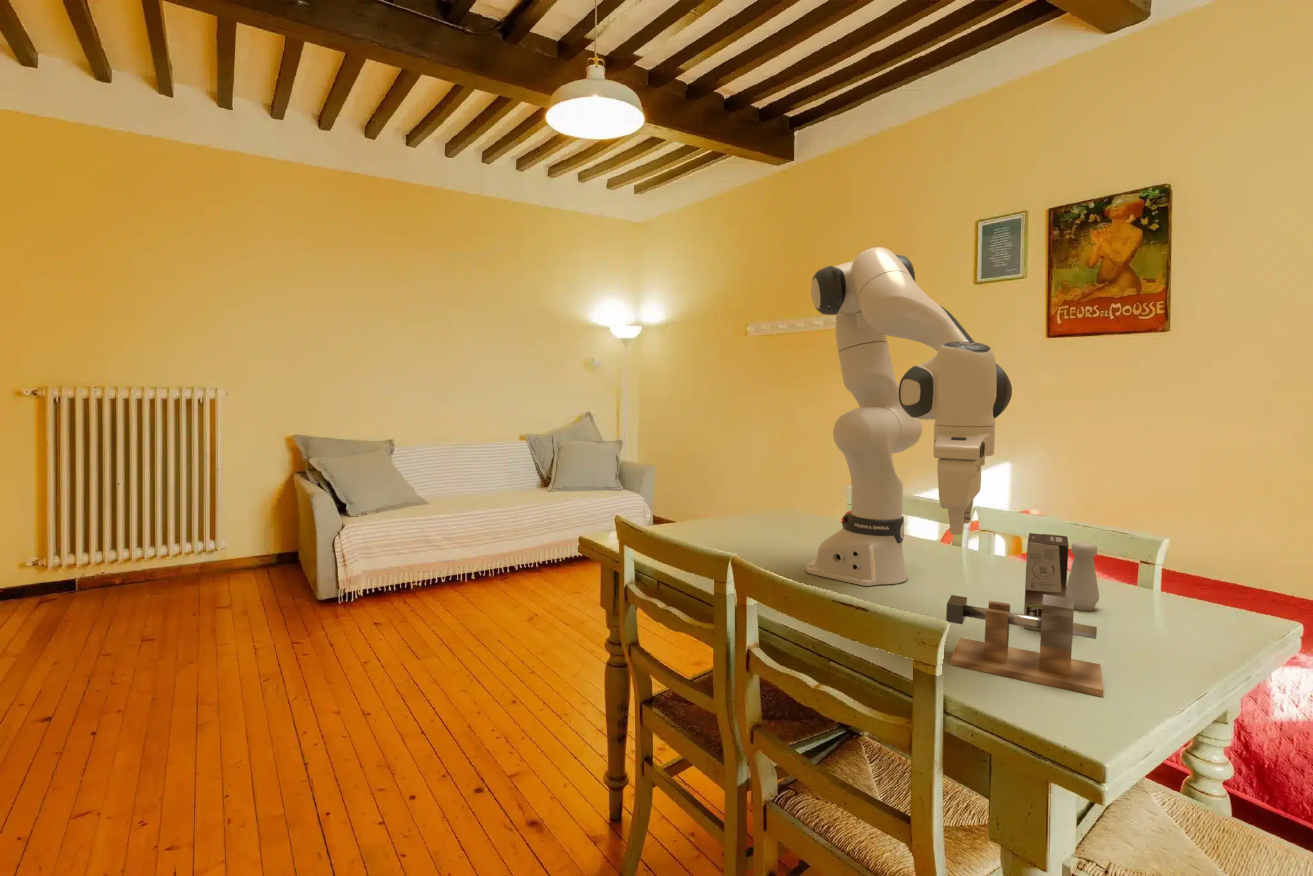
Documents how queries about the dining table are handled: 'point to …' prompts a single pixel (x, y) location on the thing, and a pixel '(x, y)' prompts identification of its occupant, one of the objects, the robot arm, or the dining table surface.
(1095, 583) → the salt shaker
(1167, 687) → the dining table surface
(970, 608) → the grey block-headed metal pin
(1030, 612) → the coffee box
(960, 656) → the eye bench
